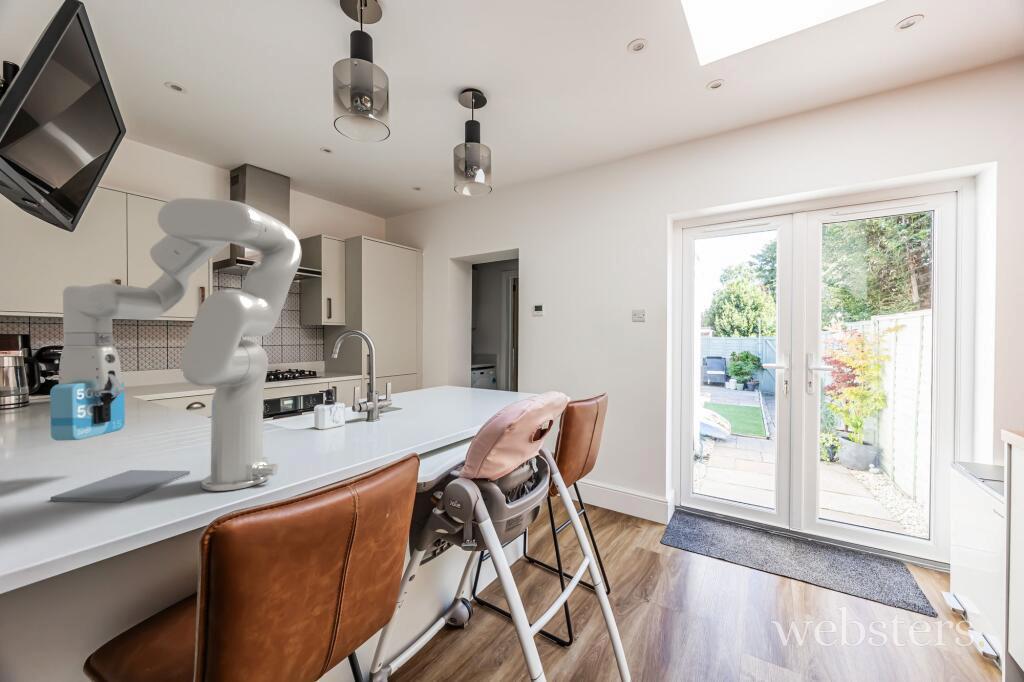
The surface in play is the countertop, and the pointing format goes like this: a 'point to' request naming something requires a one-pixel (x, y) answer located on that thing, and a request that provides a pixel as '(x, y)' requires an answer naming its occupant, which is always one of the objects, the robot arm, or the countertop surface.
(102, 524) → the countertop surface
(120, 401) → the data package
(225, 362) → the robot arm
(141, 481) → the grey mat
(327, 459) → the countertop surface
